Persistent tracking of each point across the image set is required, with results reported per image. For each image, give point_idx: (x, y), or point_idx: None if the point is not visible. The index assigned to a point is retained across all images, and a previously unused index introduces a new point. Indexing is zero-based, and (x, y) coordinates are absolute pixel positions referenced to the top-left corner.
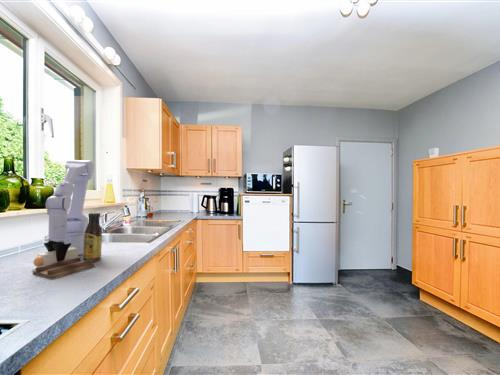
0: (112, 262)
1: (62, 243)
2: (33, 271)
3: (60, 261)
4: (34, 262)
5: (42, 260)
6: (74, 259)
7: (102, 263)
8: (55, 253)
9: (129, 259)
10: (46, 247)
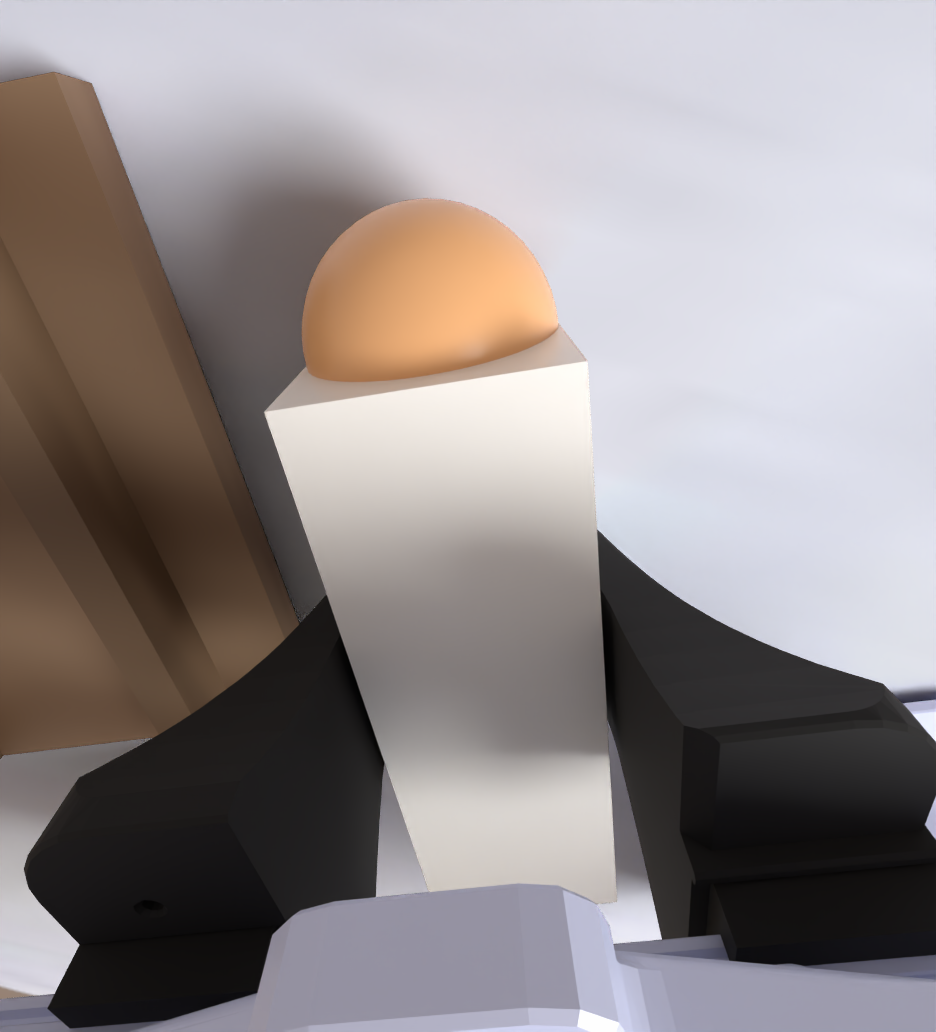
0: (24, 865)
1: (81, 967)
2: (39, 81)
3: (105, 556)
4: (390, 207)
5: (306, 352)
6: (153, 709)
7: (49, 813)
8: (347, 634)
9: (42, 953)
10: (749, 653)
